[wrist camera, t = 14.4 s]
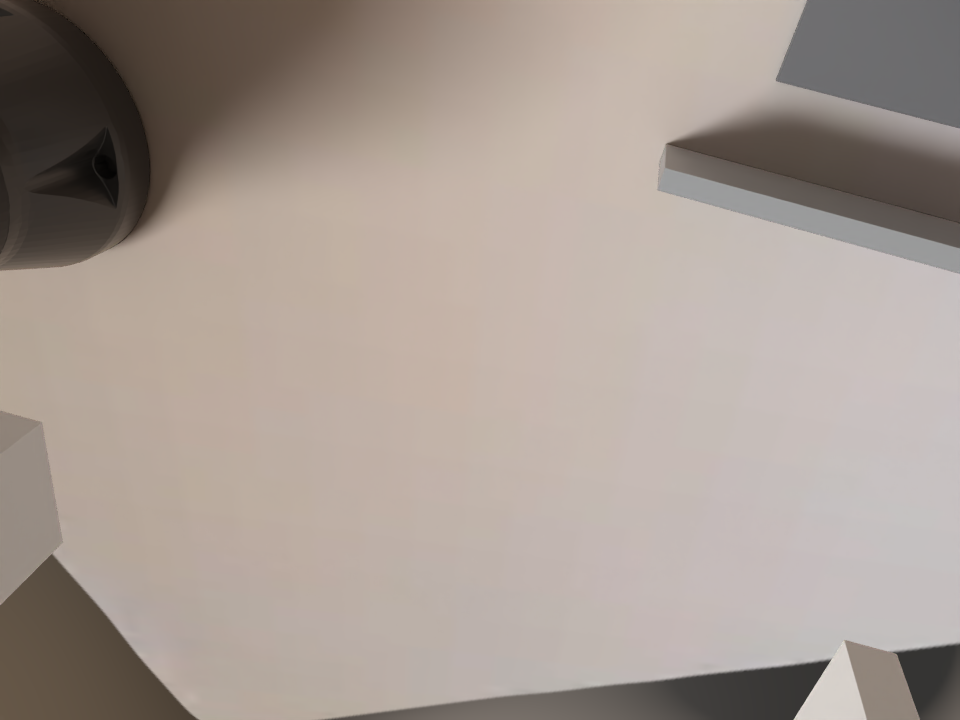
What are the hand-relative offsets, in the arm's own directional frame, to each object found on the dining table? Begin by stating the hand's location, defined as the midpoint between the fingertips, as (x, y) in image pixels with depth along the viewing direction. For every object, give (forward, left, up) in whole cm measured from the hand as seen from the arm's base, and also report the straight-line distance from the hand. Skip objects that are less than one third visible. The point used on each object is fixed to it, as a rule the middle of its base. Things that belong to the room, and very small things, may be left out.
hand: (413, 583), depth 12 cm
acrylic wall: (+11, +12, -29) cm, 33 cm away
